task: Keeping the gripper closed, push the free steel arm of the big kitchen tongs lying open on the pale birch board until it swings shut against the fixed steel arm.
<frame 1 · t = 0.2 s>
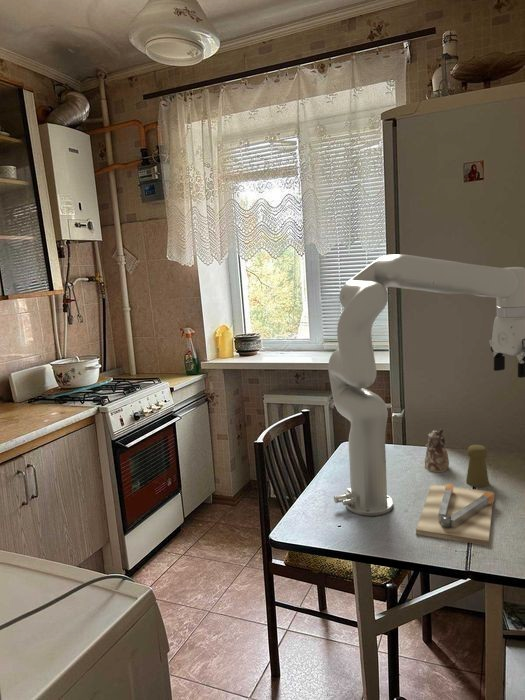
hand: (511, 373, 147), 31 cm above the table, fingers open, 9 cm apart
board: (457, 513, 134), on the table
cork: (477, 483, 150), on the table
tongs arm: (467, 509, 131), point 3 cm above the table, hinge at 25.0°
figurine: (436, 468, 163), on the table
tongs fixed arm: (446, 531, 126), resting on board
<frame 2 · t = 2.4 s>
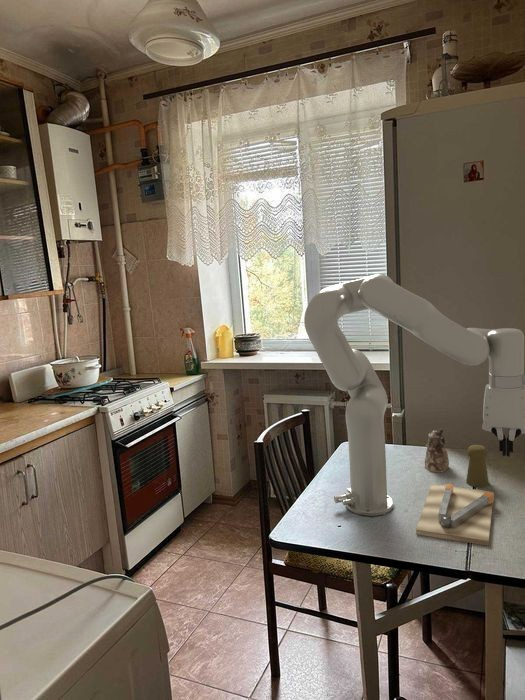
hand: (506, 454, 127), 17 cm above the table, fingers closed
nothing on the table moved.
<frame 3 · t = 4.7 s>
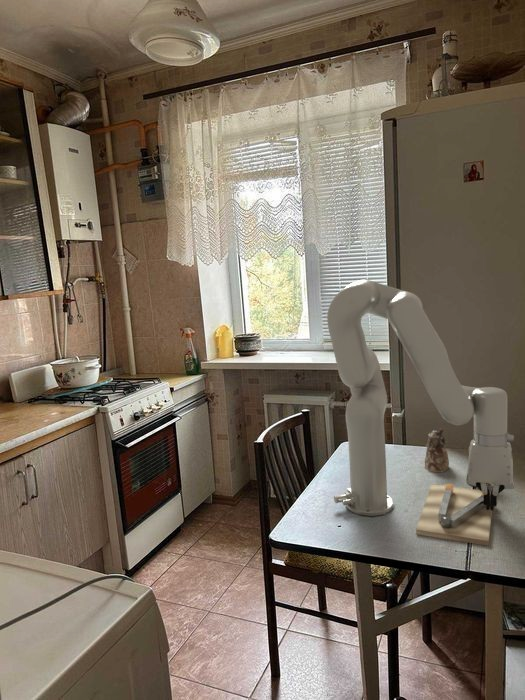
hand: (490, 507, 131), 2 cm above the table, fingers closed
tongs arm: (467, 509, 131), point 2 cm above the table, hinge at 24.5°, touching gripper
everything else where it was.
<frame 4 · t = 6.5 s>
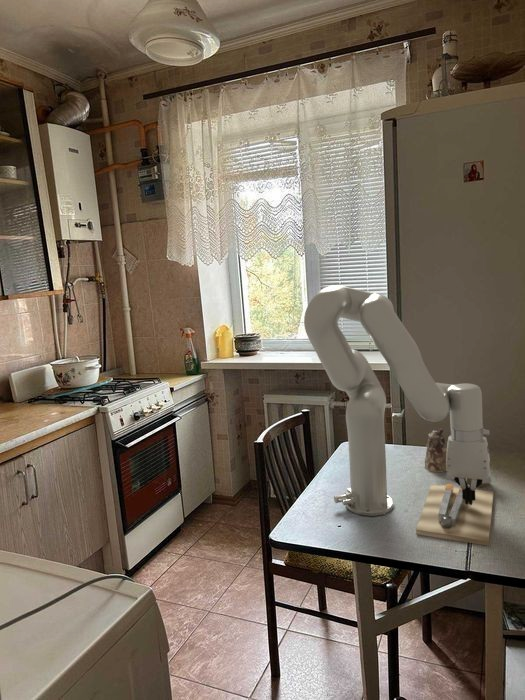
hand: (469, 502, 134), 3 cm above the table, fingers closed
tongs arm: (454, 505, 133), point 3 cm above the table, hinge at 3.8°, touching gripper
everything else where it was.
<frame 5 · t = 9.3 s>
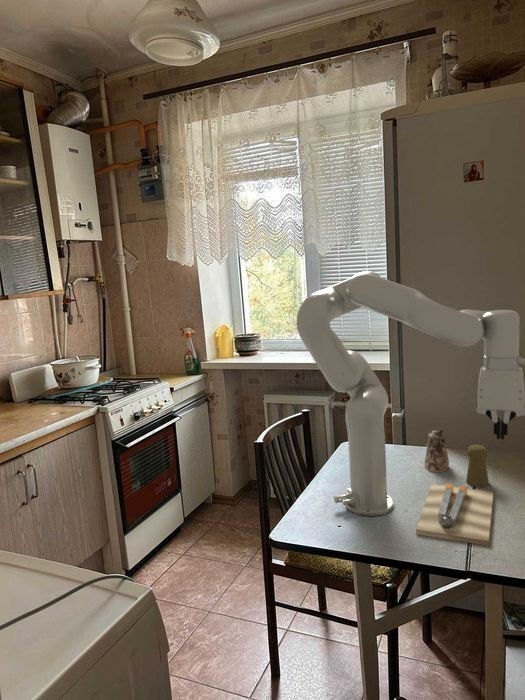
hand: (500, 437, 126), 21 cm above the table, fingers closed
tongs arm: (454, 505, 133), point 3 cm above the table, hinge at 3.7°
everything else where it was.
at the end: tongs arm at +4° (first picture: +25°); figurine moved 0.2 cm from its start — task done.
